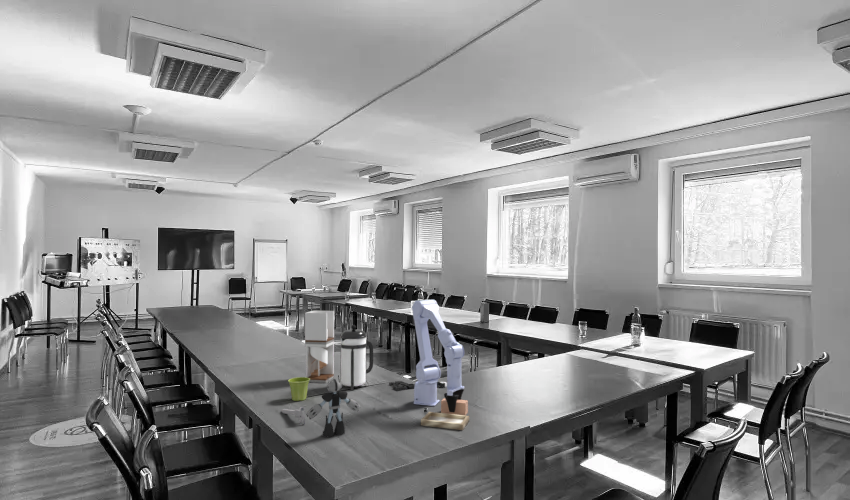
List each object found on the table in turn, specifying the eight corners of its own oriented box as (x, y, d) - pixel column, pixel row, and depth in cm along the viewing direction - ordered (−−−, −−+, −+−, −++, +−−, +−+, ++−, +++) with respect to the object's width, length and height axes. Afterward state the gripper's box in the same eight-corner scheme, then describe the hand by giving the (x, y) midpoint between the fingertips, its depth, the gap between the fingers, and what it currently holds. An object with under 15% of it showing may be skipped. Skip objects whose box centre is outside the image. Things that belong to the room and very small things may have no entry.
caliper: (305, 425, 172) (305, 408, 172) (302, 426, 171) (302, 408, 172) (283, 411, 188) (283, 395, 188) (280, 412, 187) (280, 396, 188)
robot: (308, 441, 156) (308, 381, 156) (304, 437, 160) (304, 378, 160) (362, 431, 165) (362, 374, 166) (357, 426, 170) (357, 371, 170)
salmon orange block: (441, 413, 185) (441, 400, 186) (443, 410, 189) (443, 398, 189) (465, 416, 182) (465, 403, 182) (467, 412, 186) (467, 400, 186)
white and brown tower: (304, 381, 235) (305, 312, 236) (313, 376, 245) (313, 310, 246) (326, 382, 233) (326, 313, 234) (333, 377, 243) (334, 310, 244)
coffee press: (368, 390, 218) (368, 326, 219) (335, 390, 218) (335, 326, 219) (373, 381, 235) (373, 322, 236) (342, 381, 236) (342, 322, 236)
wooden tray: (420, 425, 171) (420, 419, 171) (429, 416, 181) (429, 411, 181) (462, 430, 166) (462, 424, 166) (469, 421, 175) (469, 415, 176)
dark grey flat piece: (449, 389, 225) (450, 382, 225) (405, 394, 212) (405, 386, 212) (427, 382, 242) (427, 375, 242) (385, 386, 229) (385, 379, 229)
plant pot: (283, 401, 202) (283, 381, 202) (297, 395, 211) (297, 376, 211) (301, 403, 198) (301, 383, 199) (314, 397, 207) (314, 378, 207)
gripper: (459, 380, 178) (459, 415, 178) (468, 371, 192) (468, 404, 191) (441, 378, 180) (442, 413, 180) (451, 370, 194) (451, 403, 194)
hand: (454, 409), depth 186 cm, fingers open, 7 cm apart
